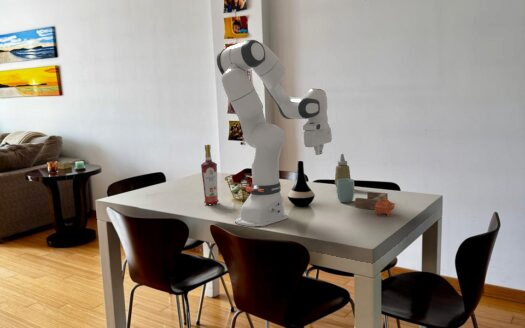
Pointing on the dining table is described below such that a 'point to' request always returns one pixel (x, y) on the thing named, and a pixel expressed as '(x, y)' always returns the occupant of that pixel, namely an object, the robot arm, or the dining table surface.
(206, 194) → the liquor
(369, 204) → the dock
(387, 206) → the orange rounded figure
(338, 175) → the squeeze bottle
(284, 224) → the dining table surface
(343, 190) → the cup
